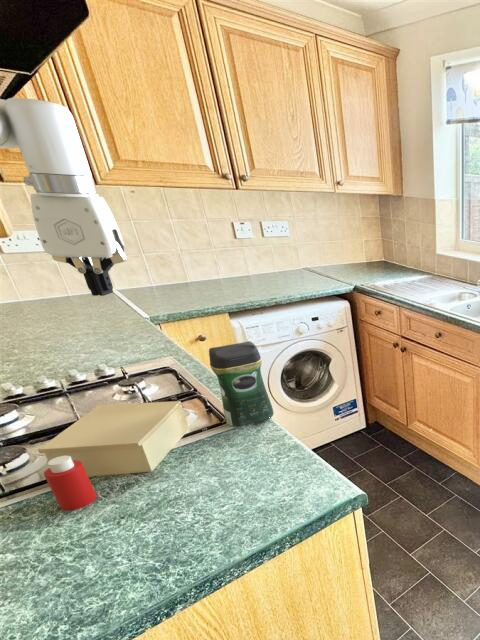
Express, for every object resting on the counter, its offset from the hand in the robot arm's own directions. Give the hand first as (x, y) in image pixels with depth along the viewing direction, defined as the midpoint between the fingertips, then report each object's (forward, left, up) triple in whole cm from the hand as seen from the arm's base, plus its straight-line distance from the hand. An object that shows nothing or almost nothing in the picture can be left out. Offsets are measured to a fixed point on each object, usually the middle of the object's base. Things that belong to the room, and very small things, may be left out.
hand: (103, 293), depth 79 cm
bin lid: (0, -9, -24) cm, 25 cm away
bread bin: (0, -9, -30) cm, 32 cm away
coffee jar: (+18, +3, -31) cm, 36 cm away
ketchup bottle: (0, -24, -30) cm, 39 cm away
